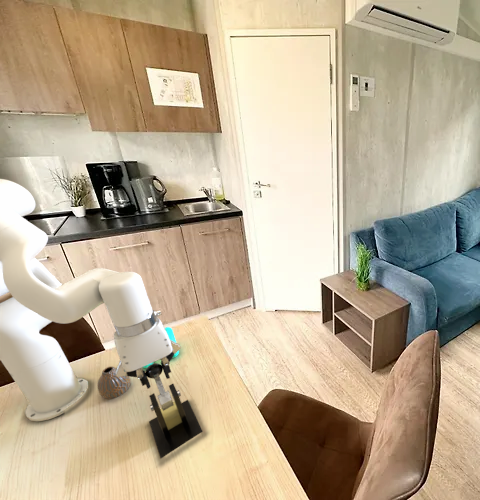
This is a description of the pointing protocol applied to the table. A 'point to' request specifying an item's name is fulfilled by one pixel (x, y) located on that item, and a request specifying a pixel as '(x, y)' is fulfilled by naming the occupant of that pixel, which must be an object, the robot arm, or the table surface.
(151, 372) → the ball knob lever
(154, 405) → the black lever base
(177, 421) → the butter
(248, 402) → the table surface
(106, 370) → the vase
